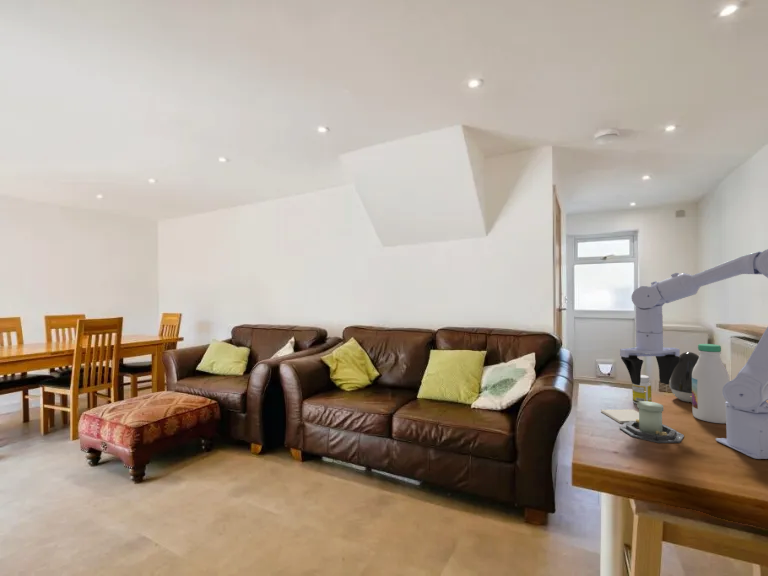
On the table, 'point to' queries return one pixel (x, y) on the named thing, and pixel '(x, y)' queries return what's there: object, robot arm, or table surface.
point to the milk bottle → (709, 385)
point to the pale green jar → (650, 416)
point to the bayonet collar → (658, 438)
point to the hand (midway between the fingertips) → (650, 383)
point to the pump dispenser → (683, 376)
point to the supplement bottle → (642, 390)
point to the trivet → (622, 415)
